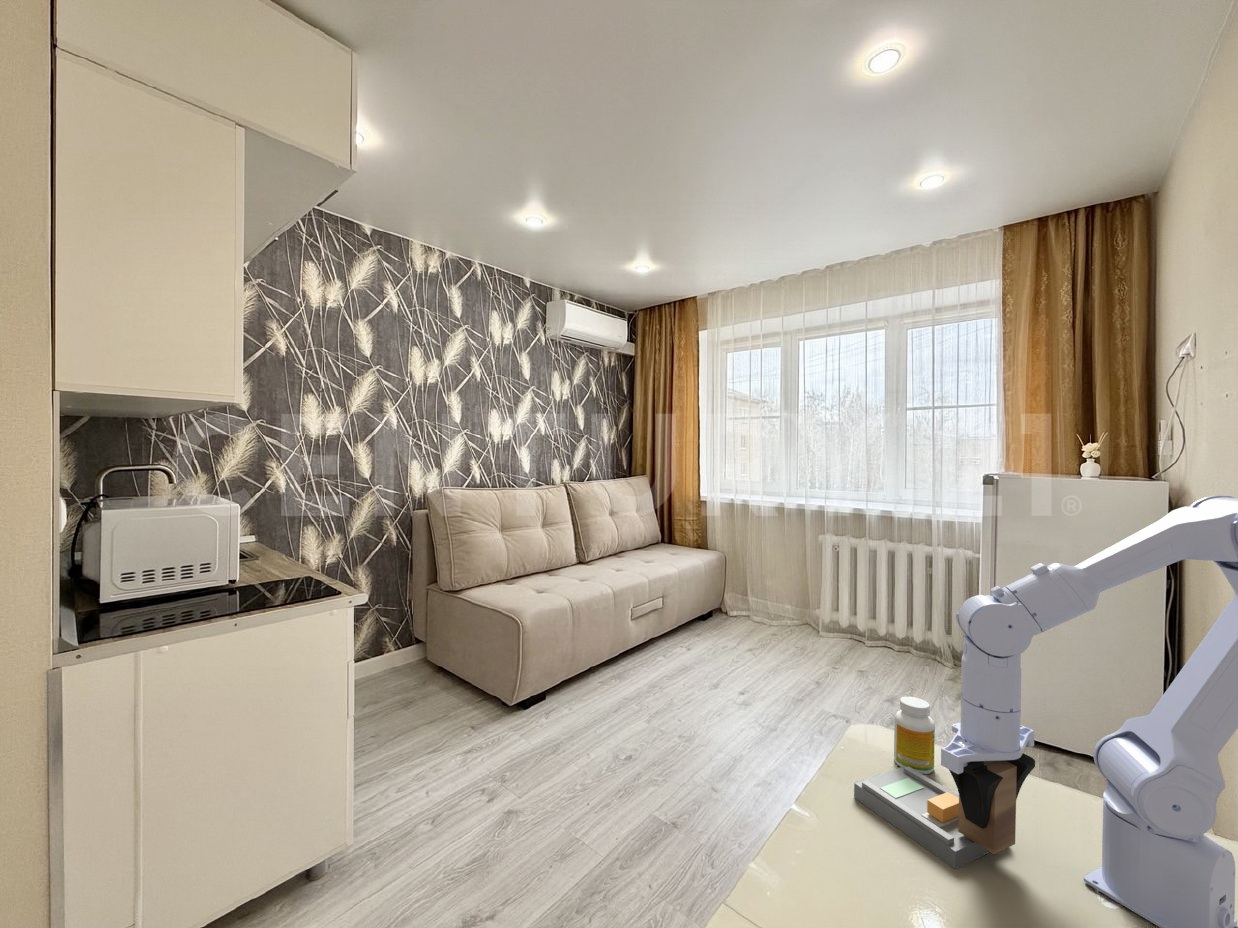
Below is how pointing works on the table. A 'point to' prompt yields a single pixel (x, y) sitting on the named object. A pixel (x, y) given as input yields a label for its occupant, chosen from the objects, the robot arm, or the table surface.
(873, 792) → the grey railed tray
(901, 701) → the supplement bottle
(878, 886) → the table surface
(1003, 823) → the tan wooden post
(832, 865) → the table surface
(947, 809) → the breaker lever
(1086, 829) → the table surface
